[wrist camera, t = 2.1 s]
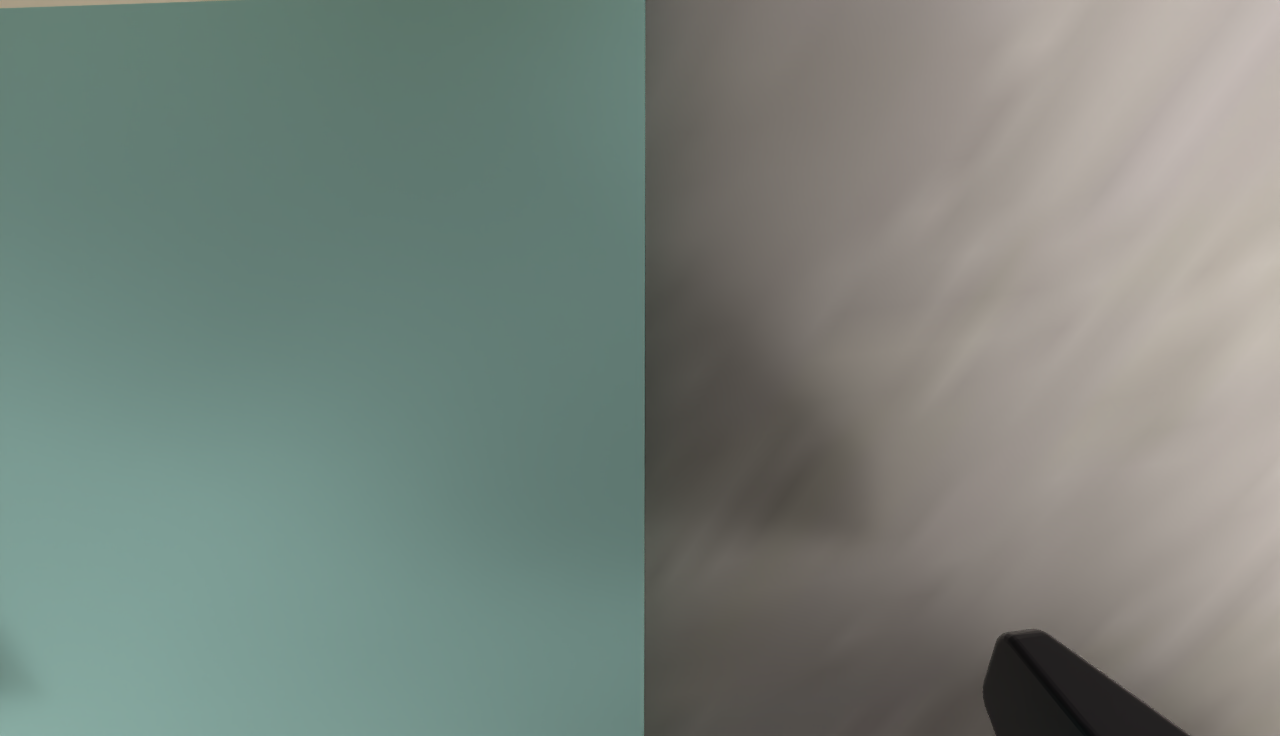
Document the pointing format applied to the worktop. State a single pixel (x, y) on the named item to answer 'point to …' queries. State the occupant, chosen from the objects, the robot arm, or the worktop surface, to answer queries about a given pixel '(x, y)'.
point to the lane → (322, 367)
